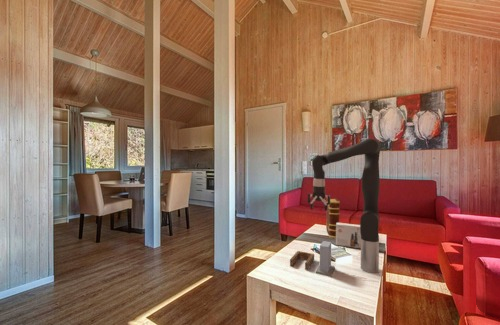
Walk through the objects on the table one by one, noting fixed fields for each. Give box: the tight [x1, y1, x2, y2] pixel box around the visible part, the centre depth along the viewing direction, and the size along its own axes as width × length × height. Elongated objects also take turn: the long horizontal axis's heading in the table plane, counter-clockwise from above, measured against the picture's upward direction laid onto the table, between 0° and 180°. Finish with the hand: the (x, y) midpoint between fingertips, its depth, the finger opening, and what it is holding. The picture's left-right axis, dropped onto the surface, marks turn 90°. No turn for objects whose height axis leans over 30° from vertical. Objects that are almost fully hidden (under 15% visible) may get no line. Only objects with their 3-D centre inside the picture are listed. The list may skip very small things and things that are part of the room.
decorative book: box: [325, 197, 341, 239], centre depth 200 cm, size 22×8×30 cm, turn 168°
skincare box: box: [335, 222, 361, 249], centre depth 171 cm, size 21×6×16 cm, turn 68°
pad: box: [315, 264, 335, 277], centre depth 131 cm, size 8×12×1 cm, turn 151°
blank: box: [319, 240, 332, 273], centre depth 131 cm, size 4×9×14 cm, turn 151°
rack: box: [289, 250, 315, 271], centre depth 140 cm, size 10×16×4 cm
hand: (318, 210), depth 152 cm, fingers open, 8 cm apart
